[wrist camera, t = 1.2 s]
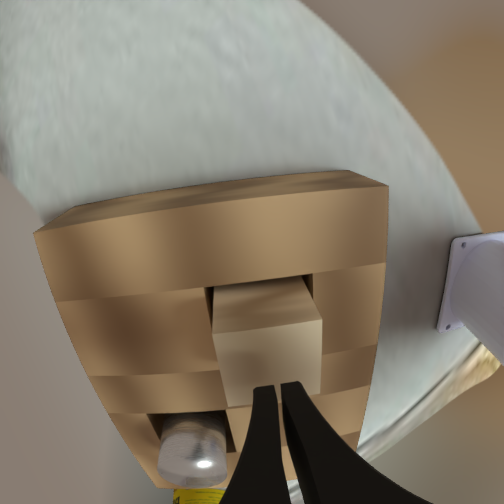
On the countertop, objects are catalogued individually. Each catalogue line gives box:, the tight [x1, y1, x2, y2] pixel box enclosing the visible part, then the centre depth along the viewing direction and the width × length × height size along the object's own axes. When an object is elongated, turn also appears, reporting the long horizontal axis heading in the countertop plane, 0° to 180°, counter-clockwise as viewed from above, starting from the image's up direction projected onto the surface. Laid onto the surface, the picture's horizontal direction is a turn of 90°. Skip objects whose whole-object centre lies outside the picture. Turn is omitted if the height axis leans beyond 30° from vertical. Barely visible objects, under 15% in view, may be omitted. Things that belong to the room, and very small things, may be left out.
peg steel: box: [157, 410, 227, 488], centre depth 17 cm, size 4×4×5 cm
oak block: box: [33, 170, 389, 489], centre depth 19 cm, size 16×22×5 cm
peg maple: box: [212, 275, 322, 407], centre depth 14 cm, size 4×4×5 cm
